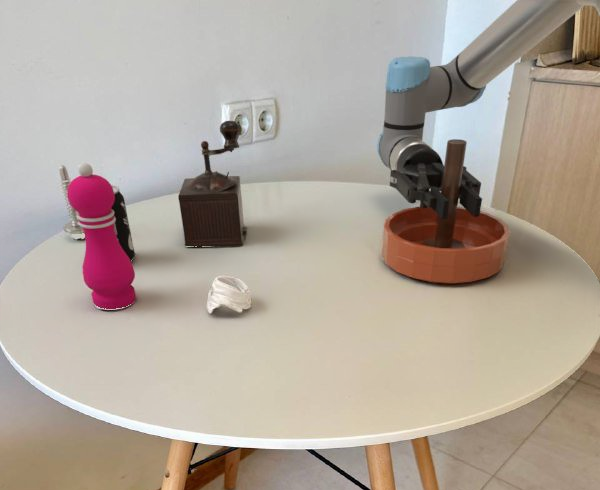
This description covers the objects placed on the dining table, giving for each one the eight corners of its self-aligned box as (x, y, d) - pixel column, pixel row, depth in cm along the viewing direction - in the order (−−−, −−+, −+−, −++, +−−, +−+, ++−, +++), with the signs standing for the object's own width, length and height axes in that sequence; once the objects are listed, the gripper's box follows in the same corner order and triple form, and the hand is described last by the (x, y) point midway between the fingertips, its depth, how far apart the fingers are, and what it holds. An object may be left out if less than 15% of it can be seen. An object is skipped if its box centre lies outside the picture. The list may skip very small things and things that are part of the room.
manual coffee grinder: (246, 246, 105) (238, 138, 94) (184, 248, 105) (168, 140, 94) (248, 216, 117) (241, 117, 106) (192, 217, 117) (180, 119, 106)
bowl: (528, 272, 95) (536, 236, 91) (425, 297, 88) (430, 259, 85) (453, 231, 109) (458, 199, 105) (360, 251, 102) (362, 216, 99)
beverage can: (123, 250, 104) (109, 181, 97) (143, 261, 101) (129, 189, 93) (89, 261, 101) (71, 190, 94) (107, 272, 97) (91, 199, 90)
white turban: (206, 301, 90) (200, 271, 88) (250, 293, 91) (244, 263, 88) (209, 323, 84) (202, 291, 81) (256, 314, 84) (250, 282, 82)
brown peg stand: (471, 260, 97) (491, 143, 86) (436, 268, 94) (452, 149, 84) (446, 245, 102) (461, 133, 91) (411, 252, 100) (423, 139, 89)
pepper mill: (80, 308, 87) (42, 168, 75) (109, 287, 93) (79, 154, 81) (121, 316, 85) (89, 173, 73) (149, 295, 90) (123, 158, 78)
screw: (73, 244, 107) (61, 237, 110) (97, 237, 110) (85, 230, 112) (54, 170, 99) (42, 164, 102) (81, 164, 102) (68, 159, 105)
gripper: (459, 183, 110) (512, 229, 91) (367, 189, 108) (403, 237, 89) (465, 140, 105) (522, 179, 87) (370, 145, 103) (407, 186, 85)
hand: (461, 208), depth 88 cm, fingers open, 4 cm apart
